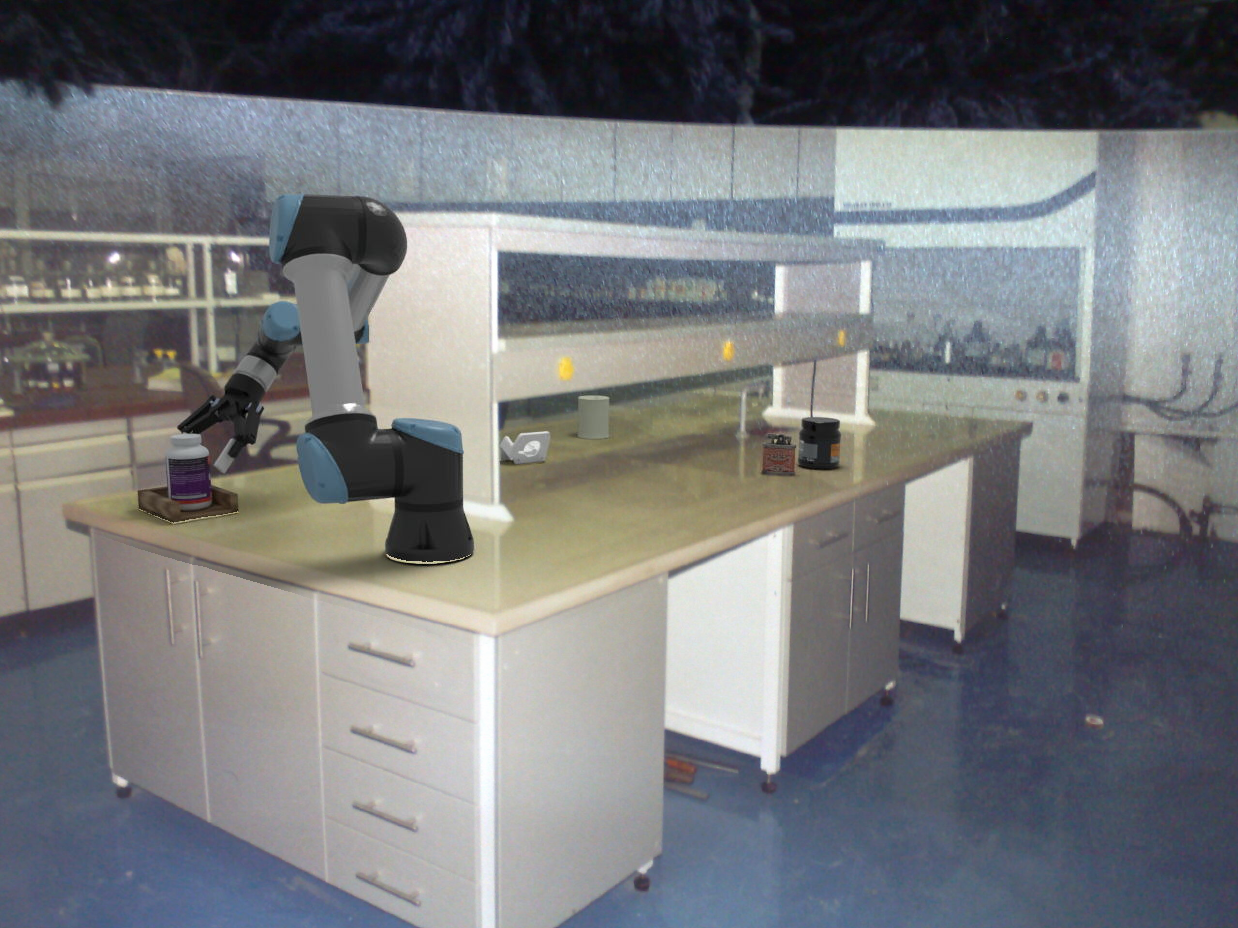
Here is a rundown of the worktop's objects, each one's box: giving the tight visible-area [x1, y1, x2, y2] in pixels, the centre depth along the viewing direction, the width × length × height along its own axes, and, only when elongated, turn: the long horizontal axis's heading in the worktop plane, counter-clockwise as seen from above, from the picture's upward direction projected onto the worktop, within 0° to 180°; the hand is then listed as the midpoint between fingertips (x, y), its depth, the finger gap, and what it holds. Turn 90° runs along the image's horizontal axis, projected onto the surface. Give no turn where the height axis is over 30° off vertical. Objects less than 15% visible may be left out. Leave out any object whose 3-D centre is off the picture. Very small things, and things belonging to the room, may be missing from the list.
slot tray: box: [137, 484, 240, 523], centre depth 206 cm, size 16×13×4 cm
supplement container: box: [797, 416, 842, 471], centre depth 263 cm, size 10×10×12 cm
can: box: [577, 395, 610, 440], centre depth 302 cm, size 9×9×12 cm
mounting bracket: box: [499, 431, 552, 465], centre depth 263 cm, size 12×6×11 cm, turn 121°
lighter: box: [761, 432, 797, 477], centre depth 252 cm, size 8×3×10 cm, turn 74°
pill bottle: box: [164, 433, 212, 511], centre depth 205 cm, size 8×8×14 cm
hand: (194, 465), depth 206 cm, fingers open, 13 cm apart
